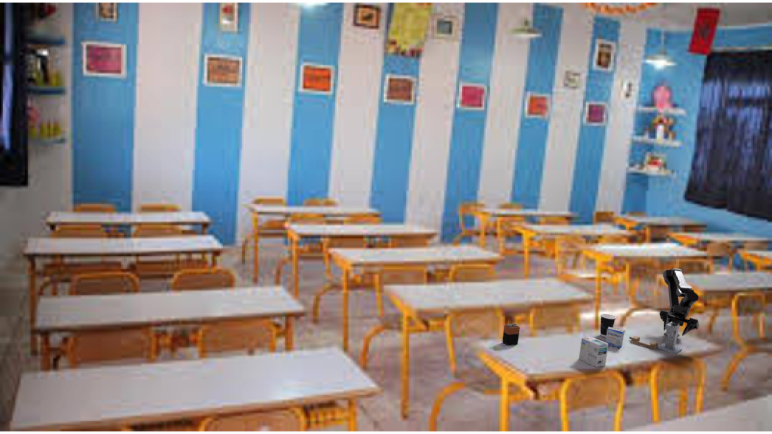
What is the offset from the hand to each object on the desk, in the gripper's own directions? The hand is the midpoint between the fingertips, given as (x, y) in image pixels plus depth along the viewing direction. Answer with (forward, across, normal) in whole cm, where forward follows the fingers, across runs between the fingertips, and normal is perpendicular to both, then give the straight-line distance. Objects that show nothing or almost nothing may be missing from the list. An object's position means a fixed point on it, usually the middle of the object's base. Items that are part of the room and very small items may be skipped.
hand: (673, 332), depth 335 cm
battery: (+53, -55, -42) cm, 87 cm away
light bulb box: (+45, -17, -33) cm, 59 cm away
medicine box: (+22, -21, -10) cm, 32 cm away
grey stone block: (+8, 0, +3) cm, 9 cm away
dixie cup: (+14, -30, -2) cm, 33 cm away
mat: (+7, 0, +4) cm, 9 cm away
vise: (+11, -12, +1) cm, 16 cm away
